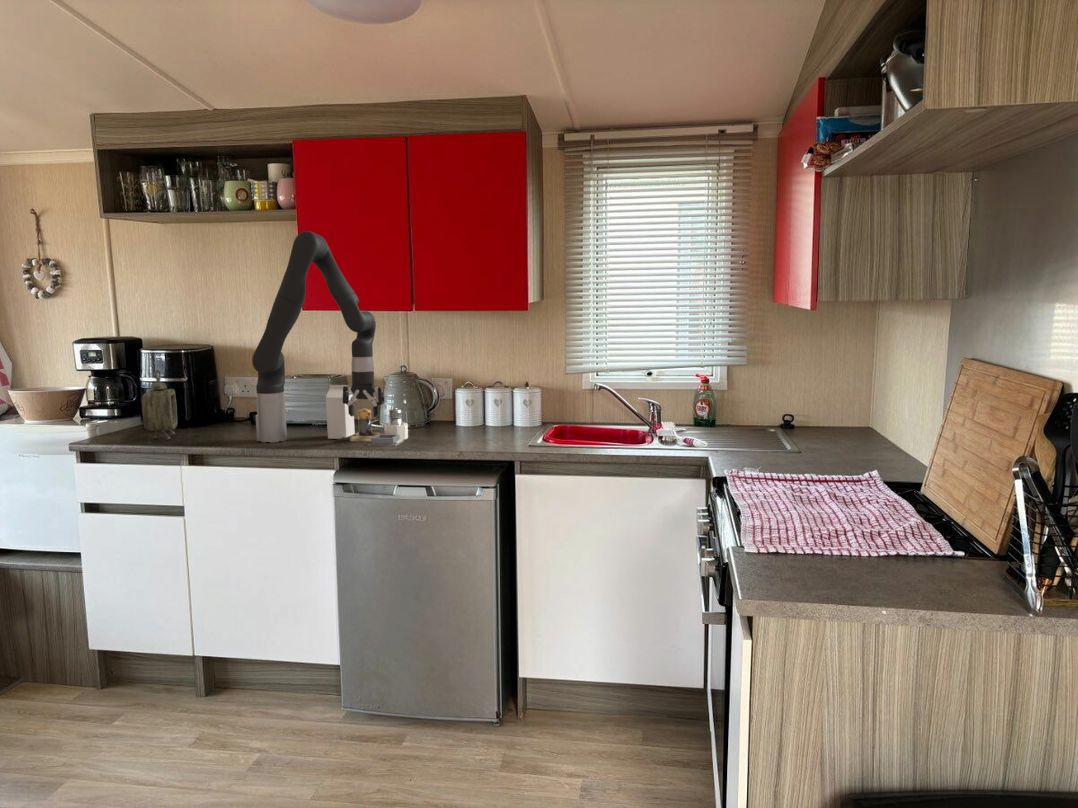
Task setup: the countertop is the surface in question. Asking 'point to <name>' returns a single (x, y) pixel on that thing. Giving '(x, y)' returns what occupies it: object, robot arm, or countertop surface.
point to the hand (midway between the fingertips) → (363, 416)
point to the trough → (362, 437)
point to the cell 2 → (395, 417)
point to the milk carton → (338, 414)
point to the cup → (397, 430)
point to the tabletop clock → (159, 408)
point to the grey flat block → (385, 440)
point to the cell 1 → (365, 422)
